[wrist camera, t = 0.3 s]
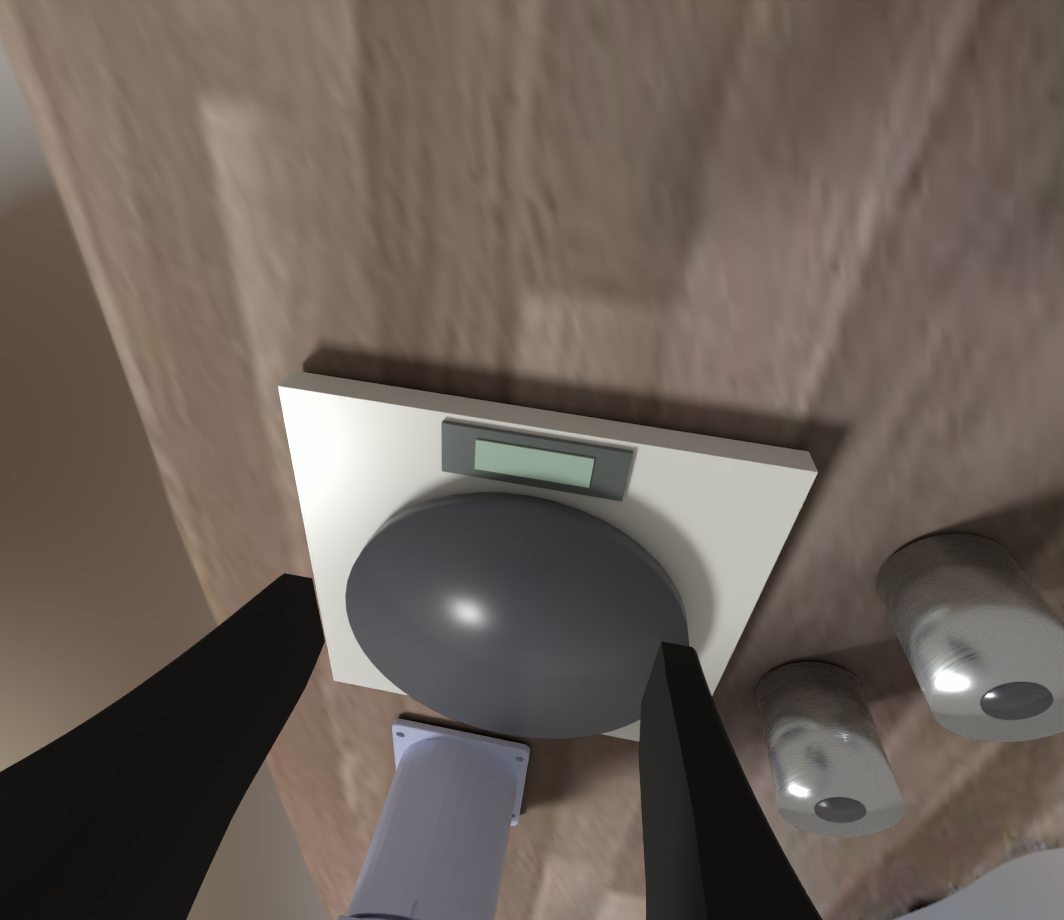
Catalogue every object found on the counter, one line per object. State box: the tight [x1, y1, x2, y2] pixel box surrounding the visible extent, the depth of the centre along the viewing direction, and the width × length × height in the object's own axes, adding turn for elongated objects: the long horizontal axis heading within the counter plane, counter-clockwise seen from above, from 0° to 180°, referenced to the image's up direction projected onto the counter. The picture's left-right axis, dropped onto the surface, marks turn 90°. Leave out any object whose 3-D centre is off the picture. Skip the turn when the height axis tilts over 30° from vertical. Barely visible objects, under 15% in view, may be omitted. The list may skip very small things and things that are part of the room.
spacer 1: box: [757, 662, 905, 837], centre depth 24 cm, size 4×4×5 cm
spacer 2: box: [876, 534, 1064, 742], centre depth 19 cm, size 4×4×5 cm
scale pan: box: [345, 492, 689, 739], centre depth 23 cm, size 14×14×1 cm
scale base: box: [278, 371, 818, 742], centre depth 24 cm, size 17×18×2 cm
